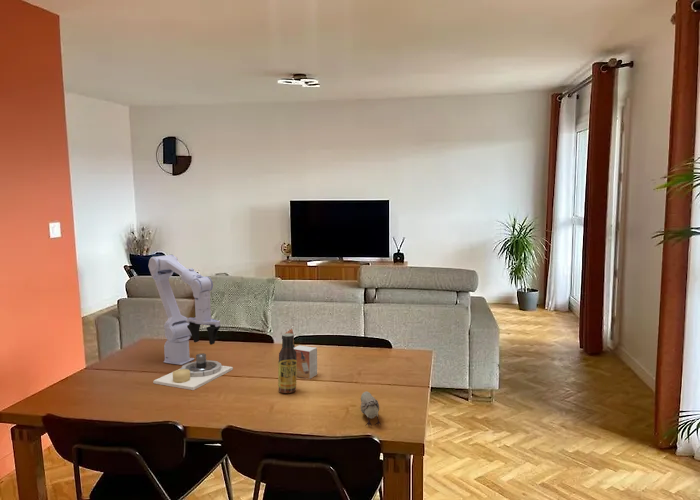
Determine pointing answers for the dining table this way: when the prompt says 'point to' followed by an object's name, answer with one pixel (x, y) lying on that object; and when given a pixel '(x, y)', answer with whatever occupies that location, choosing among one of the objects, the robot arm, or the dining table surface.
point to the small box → (306, 361)
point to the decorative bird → (369, 407)
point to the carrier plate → (193, 380)
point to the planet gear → (201, 364)
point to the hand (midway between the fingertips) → (204, 342)
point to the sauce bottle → (287, 365)
